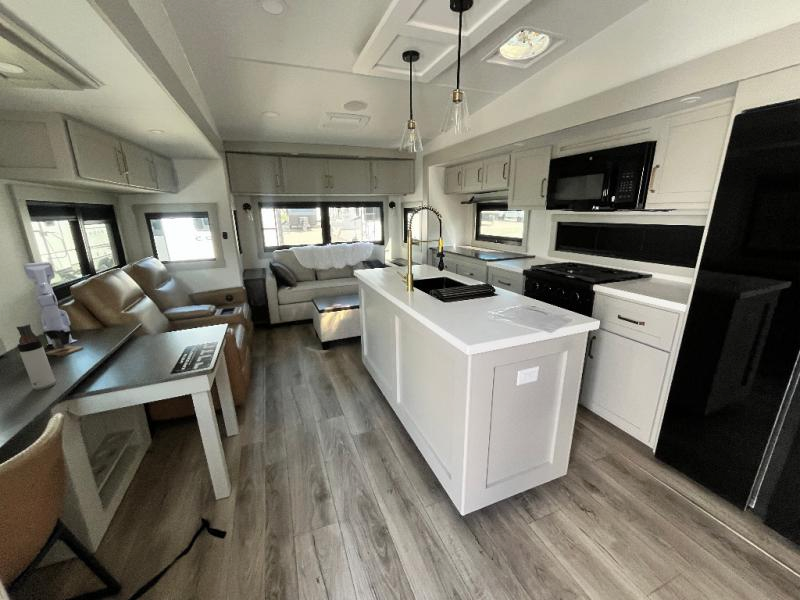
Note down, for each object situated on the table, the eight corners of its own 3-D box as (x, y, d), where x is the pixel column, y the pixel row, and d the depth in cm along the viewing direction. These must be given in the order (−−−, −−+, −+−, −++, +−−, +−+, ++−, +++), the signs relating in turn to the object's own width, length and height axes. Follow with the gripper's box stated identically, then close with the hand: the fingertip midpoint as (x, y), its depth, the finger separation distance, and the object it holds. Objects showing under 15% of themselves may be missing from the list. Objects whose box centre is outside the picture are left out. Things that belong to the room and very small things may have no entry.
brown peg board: (44, 354, 160) (40, 343, 159) (65, 347, 169) (62, 336, 167) (62, 356, 158) (58, 345, 156) (83, 348, 166) (80, 338, 165)
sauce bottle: (51, 363, 151) (37, 323, 146) (33, 369, 146) (18, 328, 140) (43, 361, 154) (29, 322, 148) (25, 367, 148) (9, 326, 142)
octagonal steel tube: (51, 348, 161) (48, 339, 159) (65, 343, 166) (61, 334, 164) (59, 349, 159) (56, 339, 158) (72, 344, 164) (69, 335, 163)
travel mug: (36, 392, 127) (18, 345, 122) (32, 387, 131) (14, 342, 125) (58, 384, 132) (42, 339, 127) (53, 380, 136) (37, 336, 130)
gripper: (31, 320, 156) (40, 345, 160) (54, 322, 153) (63, 348, 157) (49, 315, 163) (58, 340, 166) (71, 317, 160) (79, 342, 163)
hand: (61, 343), depth 162 cm, fingers closed on octagonal steel tube, 5 cm apart
